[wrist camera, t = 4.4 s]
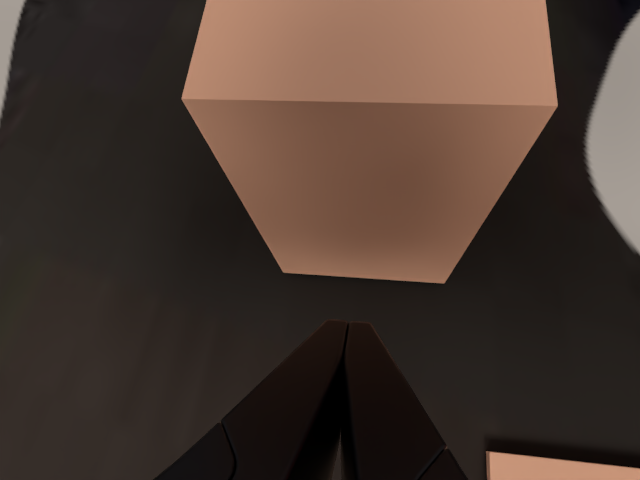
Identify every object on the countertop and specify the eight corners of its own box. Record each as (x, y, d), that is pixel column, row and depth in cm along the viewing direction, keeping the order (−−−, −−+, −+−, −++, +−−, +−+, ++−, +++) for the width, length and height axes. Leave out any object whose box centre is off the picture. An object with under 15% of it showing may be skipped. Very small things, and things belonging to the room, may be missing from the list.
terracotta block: (444, 283, 16) (557, 105, 7) (283, 272, 17) (181, 99, 7) (443, 143, 18) (528, -140, 9) (300, 139, 19) (239, -126, 9)
